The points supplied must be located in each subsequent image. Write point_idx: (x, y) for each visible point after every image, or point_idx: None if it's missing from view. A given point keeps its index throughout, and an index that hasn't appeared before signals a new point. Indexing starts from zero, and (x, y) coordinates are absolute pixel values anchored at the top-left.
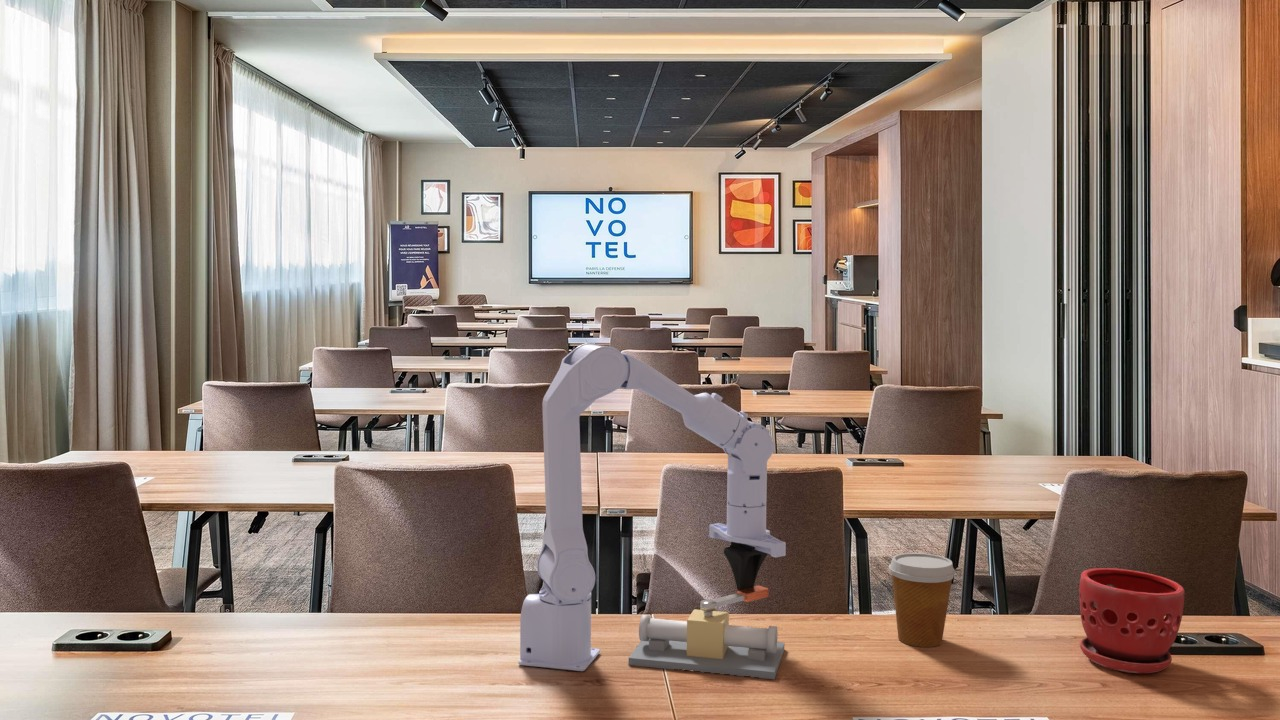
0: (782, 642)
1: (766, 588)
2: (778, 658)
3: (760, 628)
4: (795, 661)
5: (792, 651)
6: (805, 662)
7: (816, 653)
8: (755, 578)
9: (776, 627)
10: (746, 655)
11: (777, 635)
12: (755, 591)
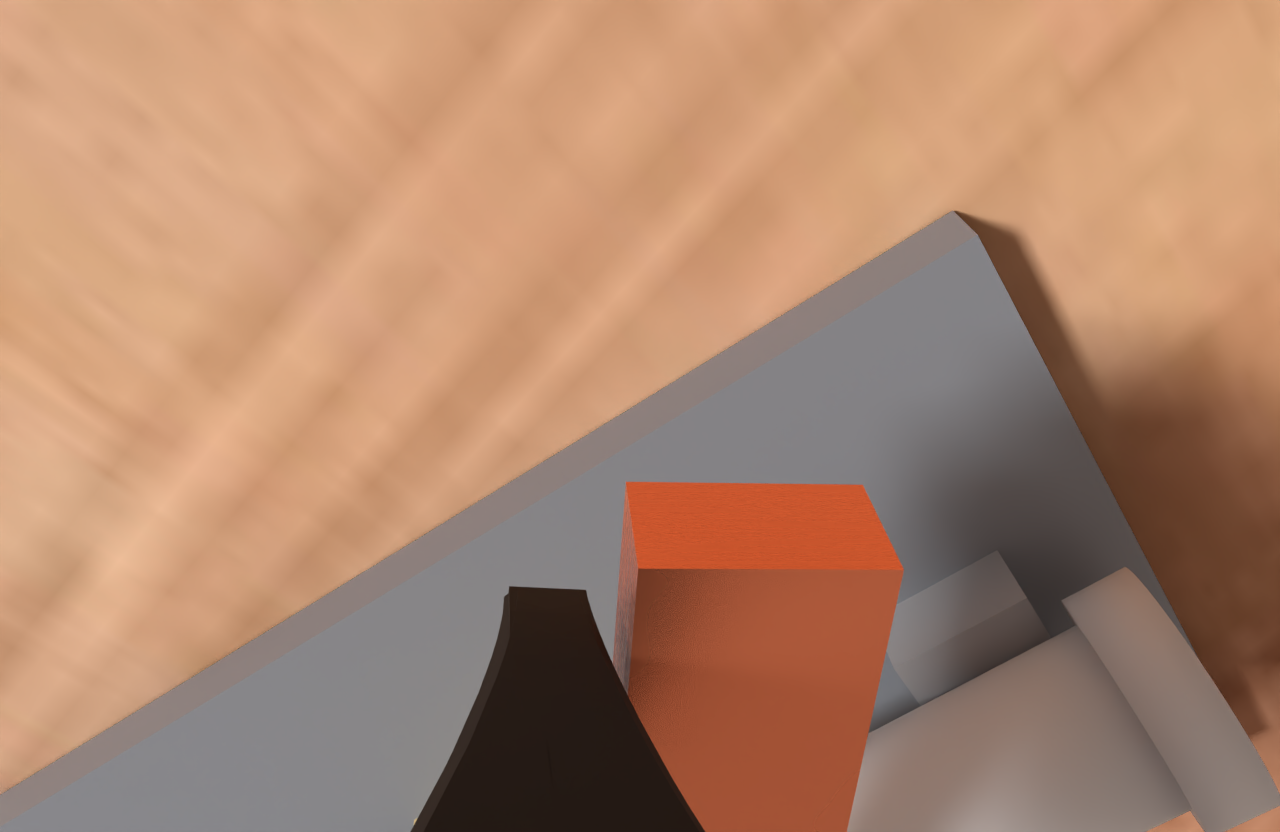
0: (961, 250)
1: (875, 599)
2: (1146, 571)
3: (1100, 830)
4: (1187, 363)
5: (1041, 187)
6: (1272, 316)
7: (1268, 42)
8: (661, 774)
9: (1255, 753)
10: (900, 699)
11: (1155, 600)
12: (836, 815)
